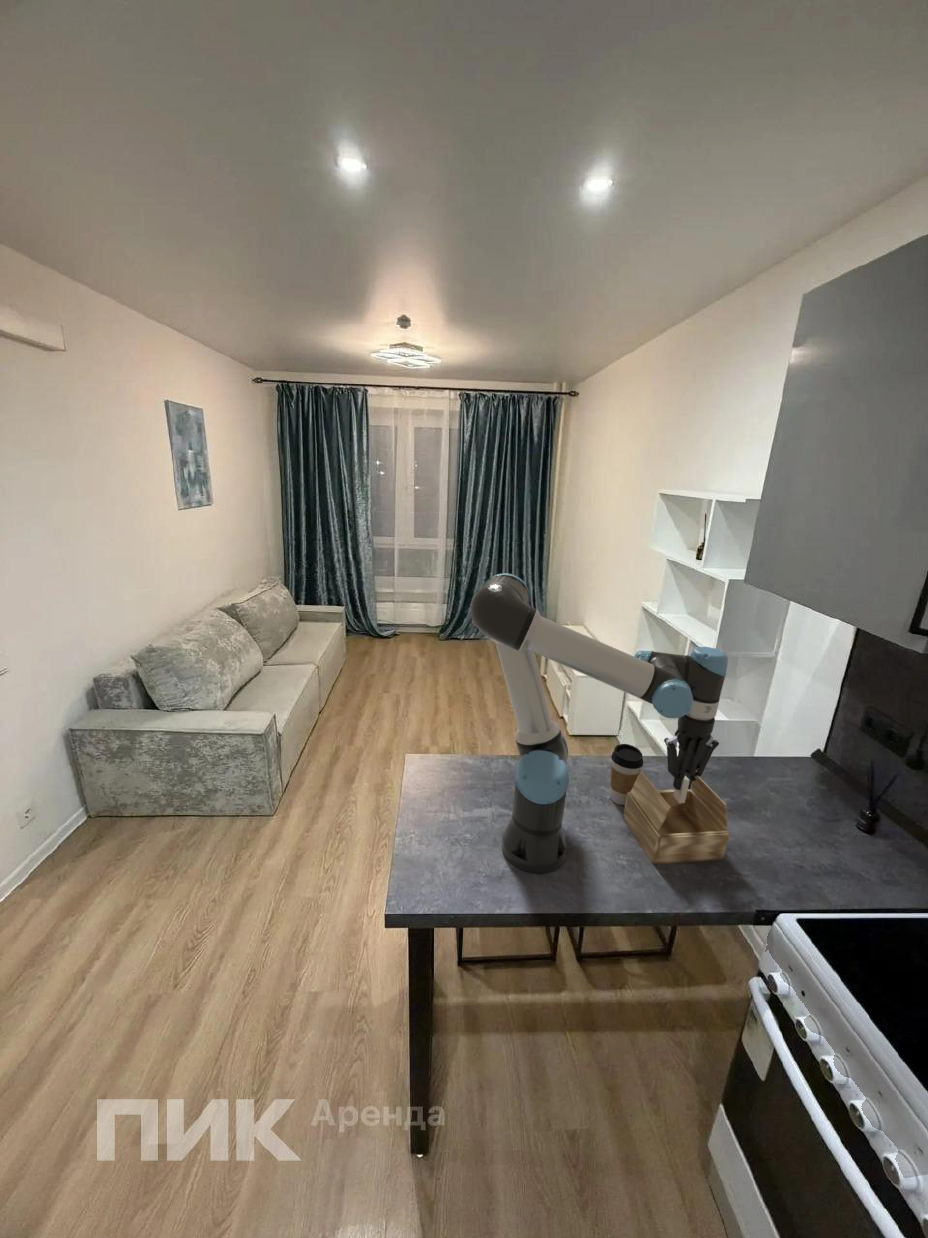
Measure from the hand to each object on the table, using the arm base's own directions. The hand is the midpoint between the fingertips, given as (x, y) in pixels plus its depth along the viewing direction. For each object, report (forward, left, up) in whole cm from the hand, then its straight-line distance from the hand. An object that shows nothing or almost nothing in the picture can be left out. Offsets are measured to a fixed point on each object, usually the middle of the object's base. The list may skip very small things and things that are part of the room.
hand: (678, 799), depth 122 cm
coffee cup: (-6, +16, -12) cm, 21 cm away
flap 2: (+9, 0, -3) cm, 9 cm away
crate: (0, 0, -12) cm, 12 cm away
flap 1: (-9, 0, -3) cm, 9 cm away
